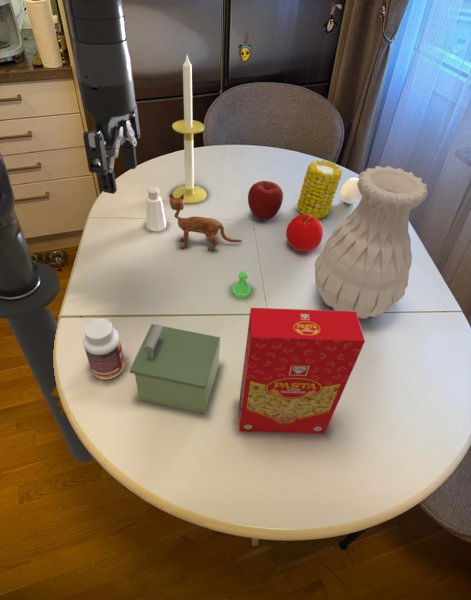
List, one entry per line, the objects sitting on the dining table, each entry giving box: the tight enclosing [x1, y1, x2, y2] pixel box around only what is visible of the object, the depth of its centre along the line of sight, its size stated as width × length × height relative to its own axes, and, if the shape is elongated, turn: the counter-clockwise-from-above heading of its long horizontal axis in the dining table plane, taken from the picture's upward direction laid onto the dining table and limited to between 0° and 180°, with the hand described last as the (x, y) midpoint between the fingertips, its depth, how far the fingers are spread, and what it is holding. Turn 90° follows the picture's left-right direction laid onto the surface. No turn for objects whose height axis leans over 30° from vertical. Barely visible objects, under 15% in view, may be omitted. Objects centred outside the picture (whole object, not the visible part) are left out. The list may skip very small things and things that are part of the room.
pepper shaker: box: [145, 186, 167, 233], centre depth 108 cm, size 5×5×11 cm
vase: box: [314, 165, 429, 320], centre depth 85 cm, size 20×20×30 cm
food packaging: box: [238, 307, 366, 435], centre depth 64 cm, size 15×5×25 cm, turn 90°
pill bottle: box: [82, 318, 126, 380], centre depth 75 cm, size 6×6×11 cm
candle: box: [171, 55, 208, 205], centre depth 111 cm, size 10×10×38 cm
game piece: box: [232, 270, 251, 299], centre depth 94 cm, size 4×4×6 cm
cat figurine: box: [169, 193, 243, 251], centre depth 103 cm, size 18×7×14 cm, turn 92°
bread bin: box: [134, 341, 221, 415], centre depth 75 cm, size 12×11×8 cm
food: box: [296, 159, 343, 220], centre depth 117 cm, size 15×12×10 cm
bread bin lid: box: [129, 323, 221, 389], centre depth 70 cm, size 13×11×4 cm
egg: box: [340, 177, 362, 205], centre depth 124 cm, size 6×6×8 cm
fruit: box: [285, 213, 324, 252], centre depth 106 cm, size 9×9×10 cm
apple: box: [247, 180, 284, 221], centre depth 115 cm, size 10×10×10 cm
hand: (120, 179), depth 70 cm, fingers open, 8 cm apart
